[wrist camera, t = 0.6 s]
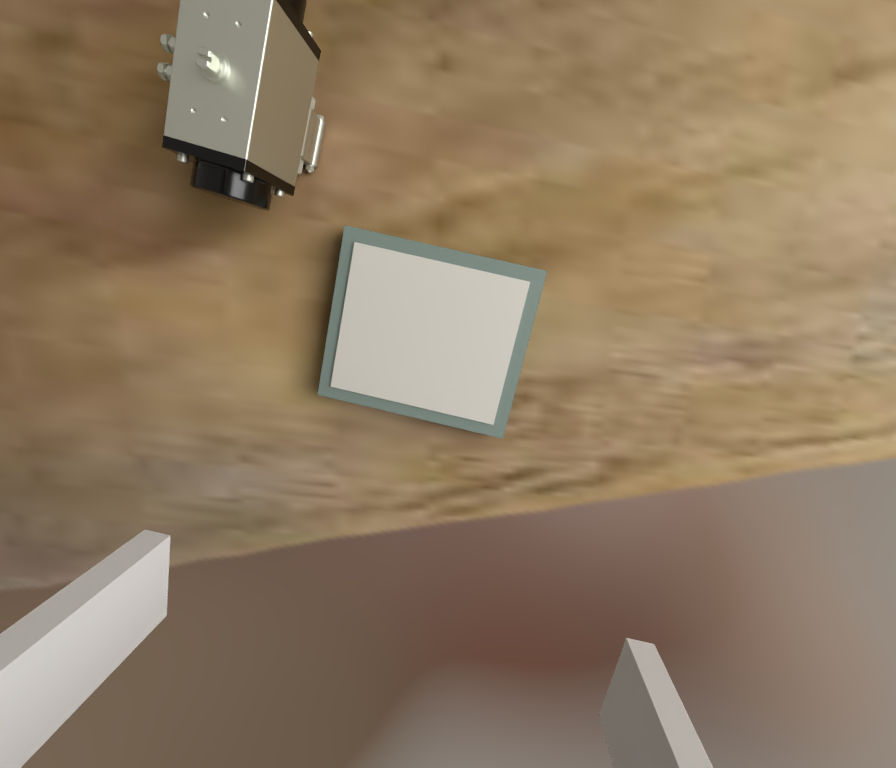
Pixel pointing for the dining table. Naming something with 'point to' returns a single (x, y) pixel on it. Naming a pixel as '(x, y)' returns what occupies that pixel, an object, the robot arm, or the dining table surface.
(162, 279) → the dining table surface
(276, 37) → the pneumatic valve
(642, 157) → the dining table surface
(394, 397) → the stand
